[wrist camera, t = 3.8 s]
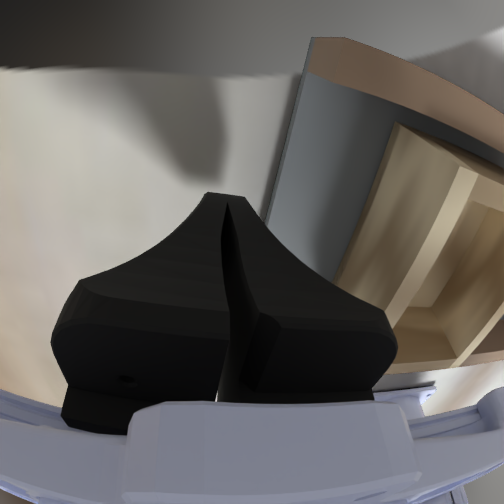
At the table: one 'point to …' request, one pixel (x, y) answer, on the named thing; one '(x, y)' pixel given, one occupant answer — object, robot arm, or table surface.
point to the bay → (365, 148)
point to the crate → (430, 249)
